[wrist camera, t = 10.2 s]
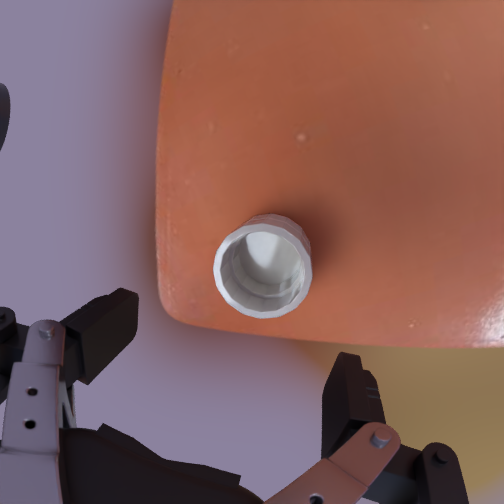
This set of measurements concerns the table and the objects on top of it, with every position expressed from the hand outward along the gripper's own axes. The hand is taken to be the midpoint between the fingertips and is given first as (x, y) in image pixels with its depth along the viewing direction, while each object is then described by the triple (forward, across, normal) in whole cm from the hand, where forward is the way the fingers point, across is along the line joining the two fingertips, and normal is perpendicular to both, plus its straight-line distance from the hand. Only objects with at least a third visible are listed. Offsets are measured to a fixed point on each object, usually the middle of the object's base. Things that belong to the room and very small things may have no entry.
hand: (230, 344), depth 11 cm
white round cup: (+13, 0, 0) cm, 13 cm away
